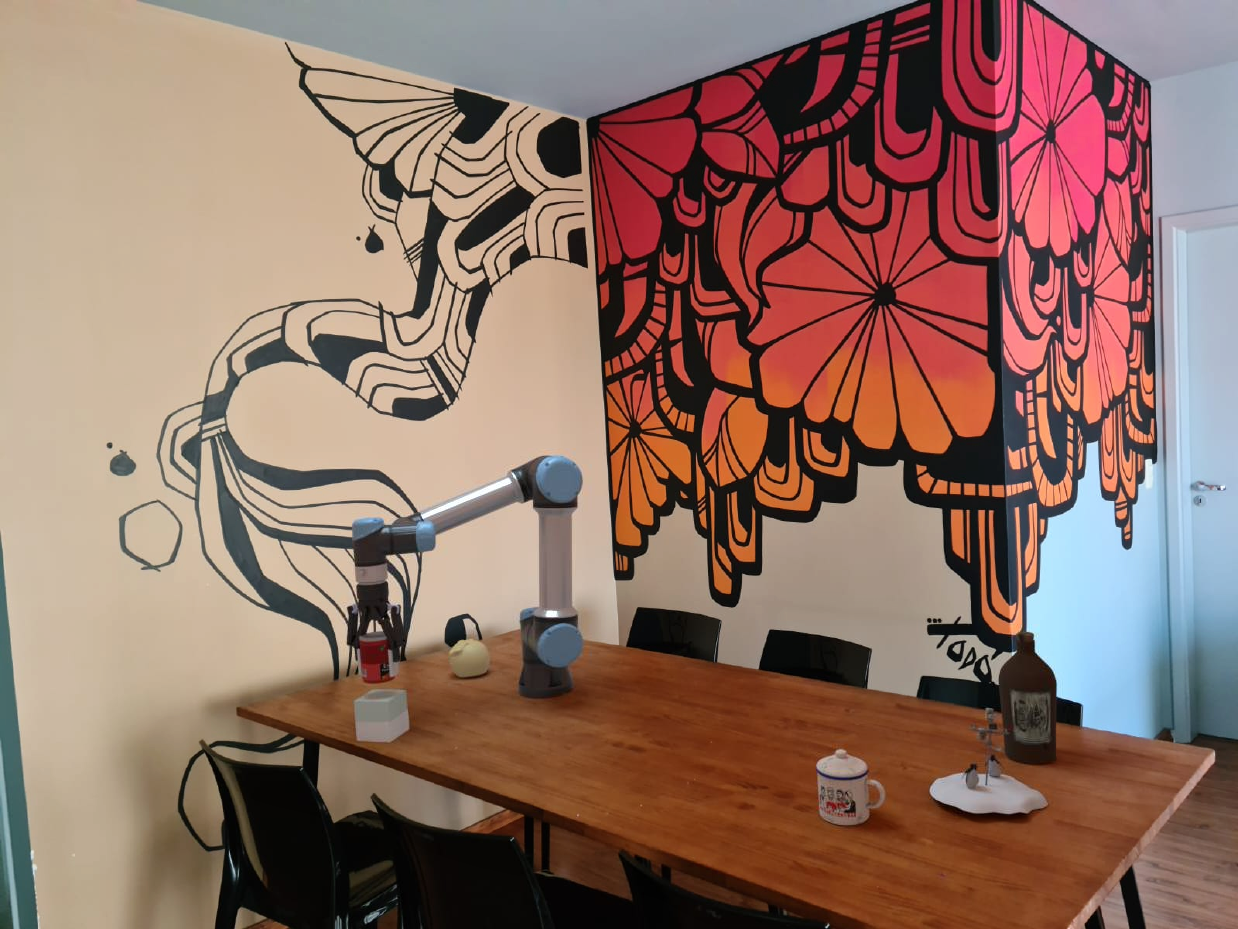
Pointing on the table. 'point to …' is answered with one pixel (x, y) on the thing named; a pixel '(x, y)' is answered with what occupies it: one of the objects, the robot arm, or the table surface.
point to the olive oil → (1028, 704)
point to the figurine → (987, 784)
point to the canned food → (375, 658)
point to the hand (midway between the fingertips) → (378, 674)
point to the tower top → (380, 705)
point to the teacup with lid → (845, 789)
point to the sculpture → (469, 658)
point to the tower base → (382, 729)
